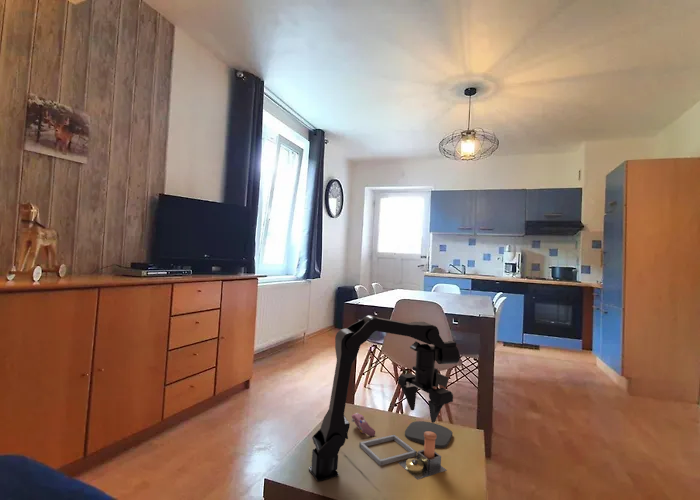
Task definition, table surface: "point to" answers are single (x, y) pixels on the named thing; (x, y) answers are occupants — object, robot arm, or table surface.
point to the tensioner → (423, 465)
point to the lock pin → (429, 444)
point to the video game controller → (362, 424)
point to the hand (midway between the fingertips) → (422, 416)
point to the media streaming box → (419, 427)
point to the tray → (384, 461)
